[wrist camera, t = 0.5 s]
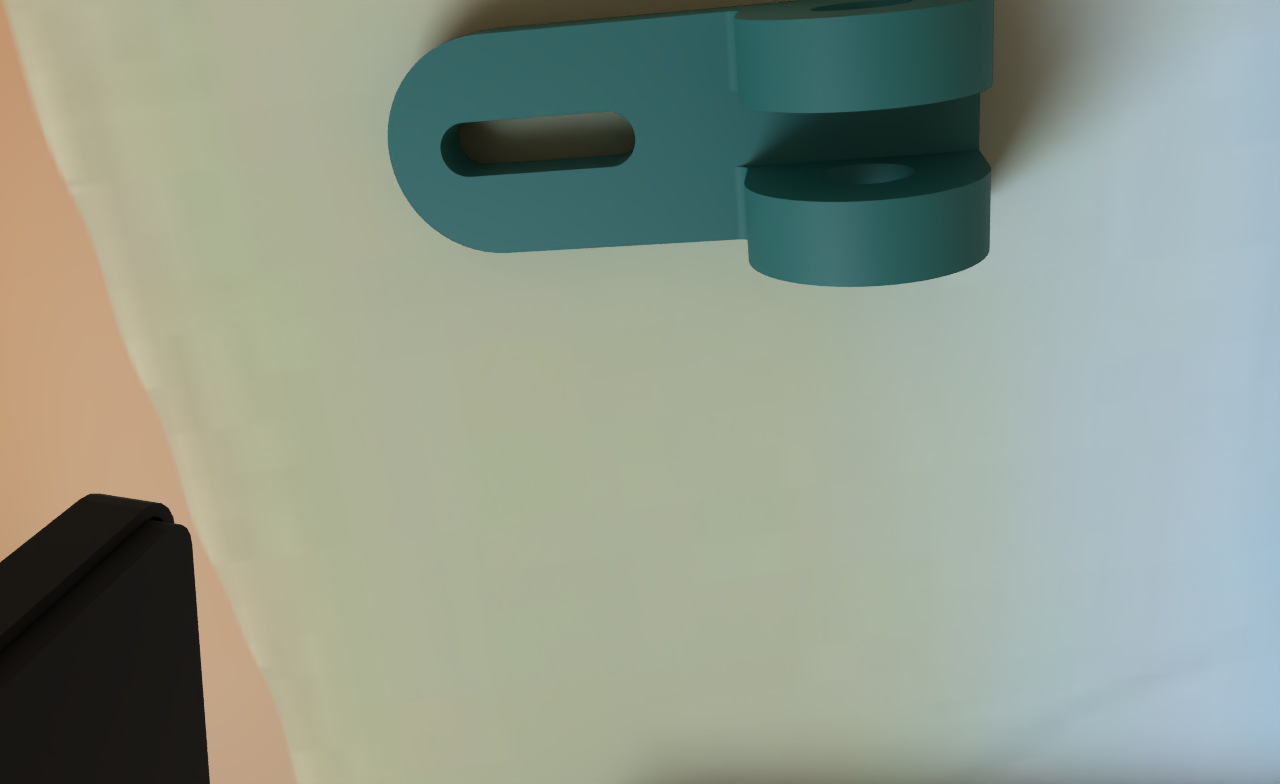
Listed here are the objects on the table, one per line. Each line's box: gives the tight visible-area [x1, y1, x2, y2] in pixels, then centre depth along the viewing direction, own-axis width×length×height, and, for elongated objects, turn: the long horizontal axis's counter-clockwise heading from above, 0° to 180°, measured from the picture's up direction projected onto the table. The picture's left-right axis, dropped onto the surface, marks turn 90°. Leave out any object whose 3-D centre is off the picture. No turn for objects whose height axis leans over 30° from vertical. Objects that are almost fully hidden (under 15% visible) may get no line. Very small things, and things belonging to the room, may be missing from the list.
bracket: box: [388, 0, 994, 287], centre depth 33 cm, size 18×7×8 cm, turn 96°
